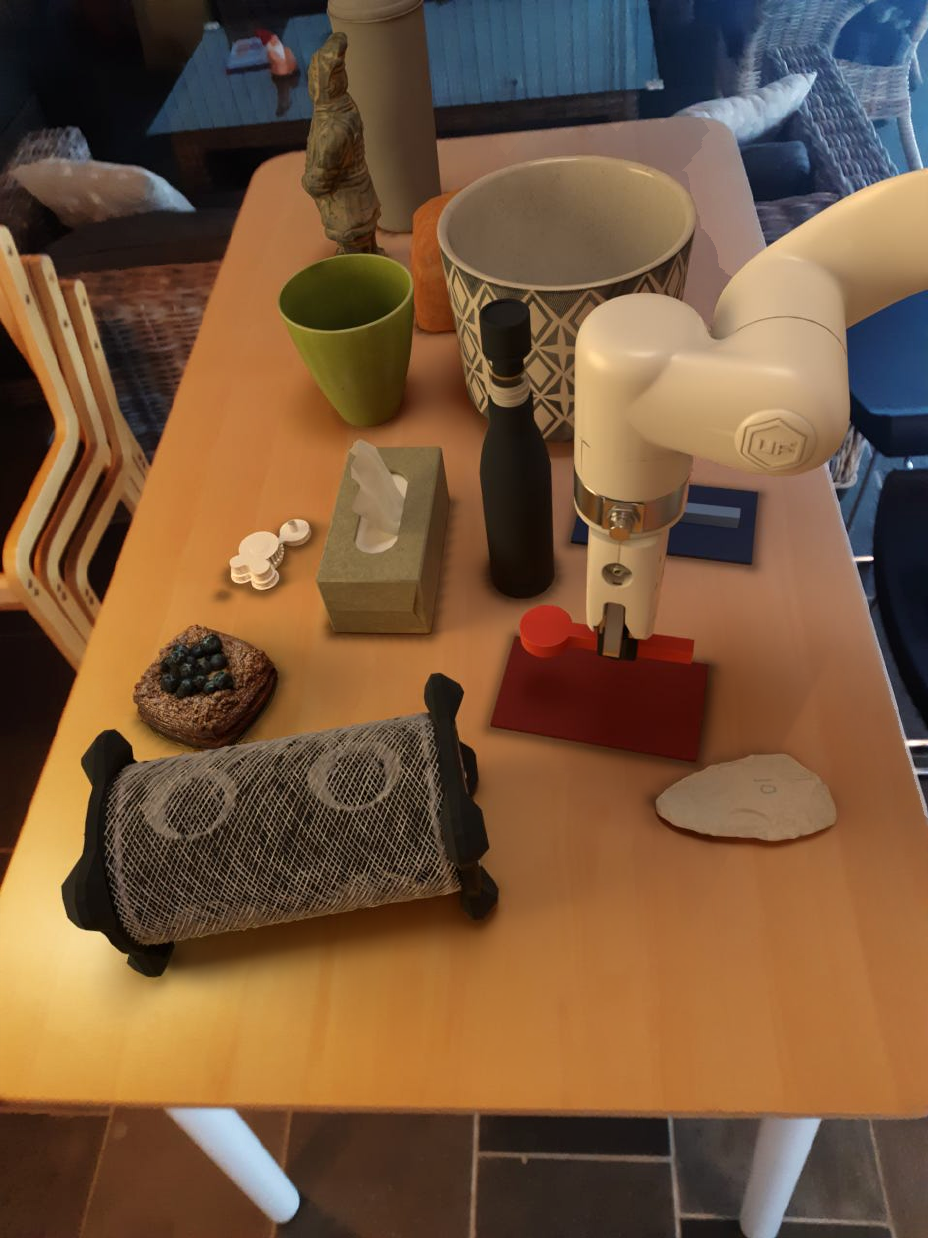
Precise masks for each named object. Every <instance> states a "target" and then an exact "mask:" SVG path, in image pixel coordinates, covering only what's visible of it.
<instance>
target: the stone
mask: <svg viewBox="0 0 928 1238" xmlns="http://www.w3.org/2000/svg"><path fill="white" fill-rule="evenodd" d="M655 808H656V810H655V811H656V813H657V814H658V816H660V817H661V818H663V819H665V820H666V821H667V822H669V823H670V824H672V825H673V826H675V827H677V828H683V829H687V830H691V831H694V832H696V833H698V834H700V835H709V836H713V837H725V838H726V837H727V838H728V837H731V838H745V839H749V838H751V839H752V838H756V839H758V840H761V841H768V842H779V841H784V840H788V839H789V840H790V839H793V840H794V839H795V840H796V839H797V838H799V837H800V836H801V837H805V836H807V835H811V834H814V833H816V832H819V831H822V830H825V829H826V828H828V827H830V826H832V825H835V822H836V821H837V808H836V804H835V802H834V800H833V797H832V795H831V793H830V790H829V785H828V784H827V783H826V782H824V780H822V778H821V777H820V775H818V774H817V773H815V772H813V771H812V770H810V769H808V768H807V767H805V766H803V765H802V764H801V763H800V762H799V761H798V760H796V759H795V758H793V757H792V756H790V754H788V753H784V752H780V753H775V754H768V753H767V754H766V753H765V754H750V755H748V756H746V757H743V758H739V759H736V760H731V761H728V762H727V761H724V762H719V763H718V764H710V765H709V766H707V767H706V768H704V769H703V770H701V771H696V772H693V773H691V774H689V775H688V776H685V777H683V778H682V779H680V780H678V781H676V782H675V783H673V784H672V785H670V786H669V787H666V789H665V790H664V791H663V793H661V794H659V796H658V797H657V798H656V800H655Z"/></svg>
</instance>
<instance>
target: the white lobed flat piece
mask: <svg viewBox="0 0 928 1238" xmlns="http://www.w3.org/2000/svg"><path fill="white" fill-rule="evenodd" d="M311 536H312V530H311V527H310V525H309V523H308V522H307V521H305V520H304V519H300V518H295V519H290V520H288V521H287V522H285V523H284V524H283V525H282V526H281V527H280V529H279V536H278V537H277V535H276V534H274V533H272V532H269V531H265V530H264V531H257V532H253V533H251V534H249V535H247V536H246V537H244V538H243V540H241V542H240V544H239V546H238V555H235V556H233V557H232V558H231V559H230V560H229V566H230V567H231V568H230V573H231V574H230V578H231V580H232V582H234V583H235V584H246V583H249V582H251V585H252V587H253V588H254V589H256V590H259V591H264V590H270V589H271V588H273V587H275V586H276V585H277V584H278V582H279V580H280V574H279V572H278V571H277V570H276V569H277V568H278V567H279V566H280V565H281V564H282V563H283V560H284V557H285V556H284V554H285V547H284V545H286V546H289V547H299V546H302V545H304V544H305V543H307V541H309V540H310V538H311ZM216 583H219V582H218V581H216ZM221 590H222V589H219V591H221ZM222 595H225V593H222Z"/></svg>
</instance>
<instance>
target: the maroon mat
mask: <svg viewBox="0 0 928 1238" xmlns="http://www.w3.org/2000/svg"><path fill="white" fill-rule="evenodd" d="M708 671H709V664H706V663H699V662H694V661H692V662H691V664H685V663H678V662H671V661H664V660H657V659H651V658H644V657H636V660H635V661H627V660H621V661H619V660H612V659H609V658H608V657H602V656H599V655H598V654H597V651H596V650H589V649H582V648H575V647H569V648H568V649H567V650H566V651H565V652H563V653H562V654H560V655H558V656H555V657H550V658H543V657H538V656H535V655H532V654H531V653H529V652H528V651H527V650H526V649H525V648H524V647H523V645H522V643H521V637H520V635H514V638H513V640H512V645H511V648H510V651H509V656H508V659H507V662H506V665H505V670H504V673H503V677H502V680H501V685H500V688H499V692H498V695H497V698H496V702H495V706H494V709H493V712H492V716H491V720H490V723H489V725H490V727H493V728H499V729H504V730H509V731H514V732H515V731H516V732H520V733H521V732H522V733H526V734H531V735H533V734H534V735H538V736H543V737H550V738H556V739H562V740H568V741H571V742H579V743H584V744H589V745H595V746H602V747H607V748H612V749H618V750H624V751H629V752H634V753H641V754H647V755H651V756H652V755H653V756H659V757H663V758H664V757H665V758H669V759H675V760H680V761H681V760H682V761H687V762H691V763H697V762H698V756H699V747H700V738H701V731H702V722H703V721H702V720H703V711H704V704H705V696H706V695H705V694H706V687H707V679H708Z"/></svg>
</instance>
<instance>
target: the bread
mask: <svg viewBox="0 0 928 1238" xmlns="http://www.w3.org/2000/svg"><path fill="white" fill-rule="evenodd" d="M465 187H466V186H463V187H461V188H458V189H455V190H452V191H449V192H446V193H443V194H442V195H440V196H437V197H434V198H431V199H430V200H429V201H427V202H426V203H425V204H423V205H422V206H420V207H419V208H418V209H417V211H416V212H415V213H414V214H413V231H412V233H411V234H412V235H411V236H412V239H411V245H410V253H409V254H410V255H409V258H410V268H411V269H410V270H411V275H412V277H413V281H414V313H415V315H416V320H417V324H418V327H419V329H422V330H425V331H428V332H434V333H435V332H446V331H456V329H455V324H454V319H453V314H452V308H451V303H450V298H449V293H448V288H447V283H446V278H445V273H444V268H443V263H442V258H441V253H440V247H439V242H438V237H437V225H438V221H439V218H440V215H441V213H442V211H443V210H444V208H445V206H446V205H447V204H448V202H449V201H450V200H451V199H452V198H453V197H454V196H455V195H456V194H457V193H458V192H460V191H461V190H462V189H463V188H465Z"/></svg>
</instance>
